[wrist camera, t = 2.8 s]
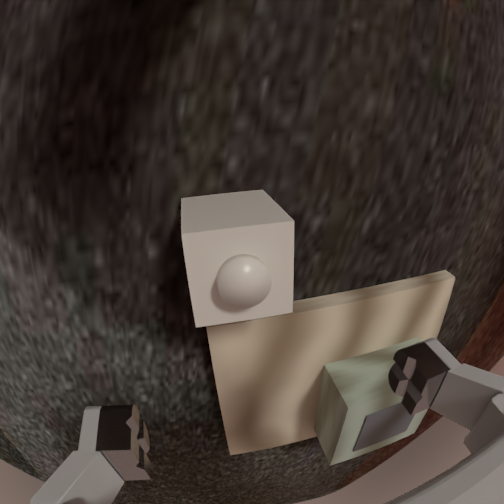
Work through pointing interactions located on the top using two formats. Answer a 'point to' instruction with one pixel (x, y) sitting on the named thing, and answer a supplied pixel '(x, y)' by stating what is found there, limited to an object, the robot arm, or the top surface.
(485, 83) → the top surface
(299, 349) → the display stand
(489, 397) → the robot arm
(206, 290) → the building block
